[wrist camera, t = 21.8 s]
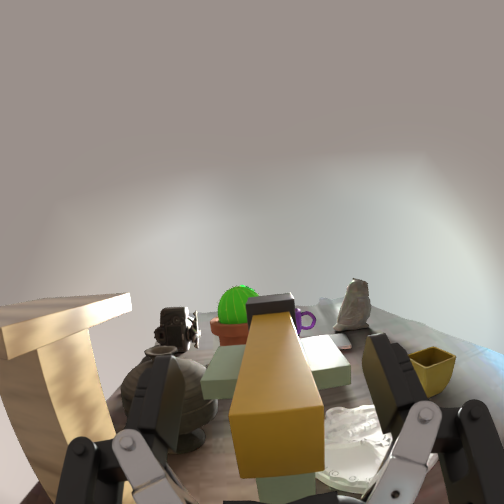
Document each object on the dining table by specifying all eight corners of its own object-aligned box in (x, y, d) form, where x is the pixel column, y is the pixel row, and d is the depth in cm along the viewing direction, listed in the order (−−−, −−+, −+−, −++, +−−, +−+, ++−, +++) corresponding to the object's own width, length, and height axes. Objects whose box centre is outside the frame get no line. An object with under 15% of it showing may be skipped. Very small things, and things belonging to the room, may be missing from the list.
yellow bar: (338, 468, 8) (339, 374, 8) (226, 479, 8) (207, 388, 8) (294, 333, 28) (290, 292, 28) (253, 337, 28) (248, 297, 28)
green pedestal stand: (339, 562, 17) (354, 370, 17) (246, 571, 17) (196, 386, 17) (328, 509, 27) (325, 331, 27) (251, 516, 27) (220, 343, 27)
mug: (273, 339, 117) (270, 315, 117) (277, 331, 128) (274, 309, 128) (316, 335, 113) (315, 311, 113) (316, 328, 124) (315, 305, 124)
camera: (195, 307, 108) (149, 308, 107) (198, 355, 106) (152, 354, 106) (203, 303, 133) (165, 304, 132) (205, 342, 131) (167, 342, 130)
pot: (221, 409, 60) (205, 328, 58) (232, 460, 42) (210, 364, 41) (144, 417, 57) (120, 338, 55) (133, 468, 39) (95, 375, 38)
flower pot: (453, 393, 47) (457, 355, 47) (422, 406, 46) (425, 367, 47) (431, 380, 56) (433, 345, 56) (401, 391, 55) (403, 355, 55)
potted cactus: (220, 371, 87) (209, 291, 87) (212, 351, 108) (203, 286, 108) (288, 358, 92) (280, 281, 92) (268, 342, 113) (261, 278, 114)
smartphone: (328, 348, 93) (324, 335, 108) (328, 351, 93) (324, 338, 108) (351, 344, 92) (345, 332, 107) (352, 348, 92) (345, 335, 107)
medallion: (350, 517, 24) (351, 507, 24) (278, 430, 50) (277, 420, 50) (468, 442, 30) (471, 431, 30) (376, 396, 56) (377, 387, 56)
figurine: (377, 328, 108) (374, 278, 108) (339, 335, 108) (335, 284, 109) (365, 321, 122) (362, 276, 123) (330, 327, 122) (326, 280, 123)
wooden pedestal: (178, 621, 8) (0, 327, 9) (91, 595, 9) (-72, 319, 9) (200, 540, 22) (129, 292, 23) (127, 528, 23) (44, 298, 23)
